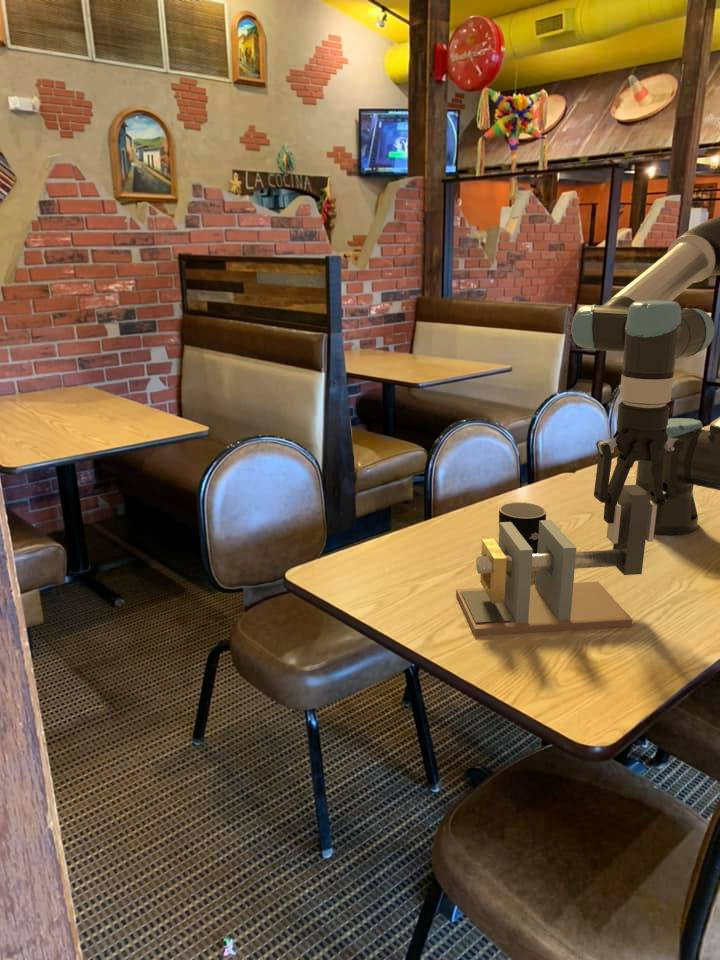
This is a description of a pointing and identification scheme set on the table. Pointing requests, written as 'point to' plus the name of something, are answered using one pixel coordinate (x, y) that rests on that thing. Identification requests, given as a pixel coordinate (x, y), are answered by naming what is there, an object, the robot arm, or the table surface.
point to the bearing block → (541, 591)
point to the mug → (524, 520)
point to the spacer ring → (494, 571)
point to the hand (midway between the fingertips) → (629, 539)
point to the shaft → (624, 553)
